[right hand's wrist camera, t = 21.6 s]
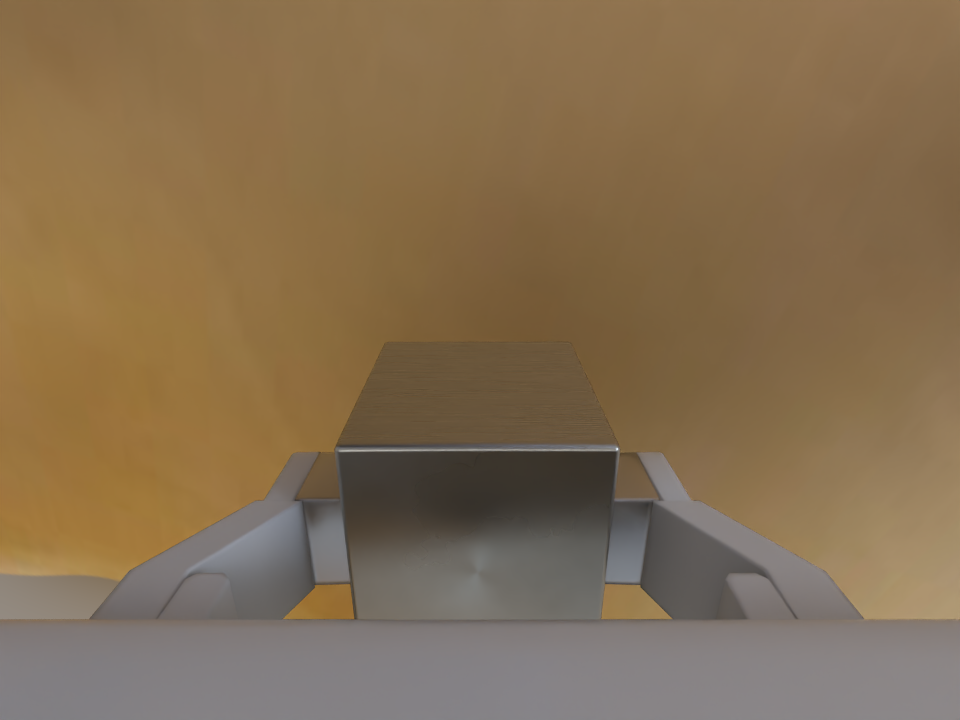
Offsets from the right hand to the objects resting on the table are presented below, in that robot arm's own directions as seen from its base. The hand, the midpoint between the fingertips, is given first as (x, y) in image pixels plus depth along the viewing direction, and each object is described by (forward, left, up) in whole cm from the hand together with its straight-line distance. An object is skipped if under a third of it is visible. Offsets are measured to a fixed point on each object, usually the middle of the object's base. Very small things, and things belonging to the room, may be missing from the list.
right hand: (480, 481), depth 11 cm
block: (0, 0, -2) cm, 2 cm away
